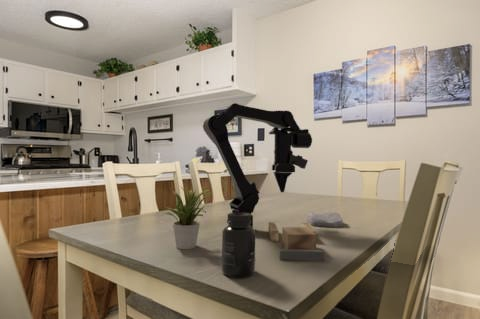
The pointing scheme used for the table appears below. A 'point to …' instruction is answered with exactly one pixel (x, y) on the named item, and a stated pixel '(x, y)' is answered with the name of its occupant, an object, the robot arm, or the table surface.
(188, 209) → the house plant
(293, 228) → the walnut block
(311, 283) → the table surface
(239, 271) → the supplement bottle
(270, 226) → the oak chute
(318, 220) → the stone block
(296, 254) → the bar
